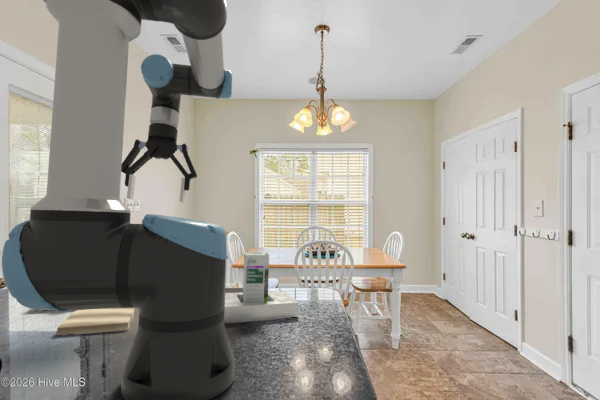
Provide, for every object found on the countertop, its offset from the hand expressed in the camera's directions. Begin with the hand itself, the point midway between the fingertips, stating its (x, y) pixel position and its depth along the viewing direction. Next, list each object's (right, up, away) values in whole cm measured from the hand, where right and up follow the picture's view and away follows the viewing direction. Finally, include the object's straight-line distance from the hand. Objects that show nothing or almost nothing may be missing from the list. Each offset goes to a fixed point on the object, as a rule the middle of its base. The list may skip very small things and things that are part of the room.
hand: (156, 200), depth 93 cm
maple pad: (-3, -26, -22) cm, 34 cm away
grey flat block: (+29, -27, -11) cm, 41 cm away
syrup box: (+29, -28, -11) cm, 41 cm away
